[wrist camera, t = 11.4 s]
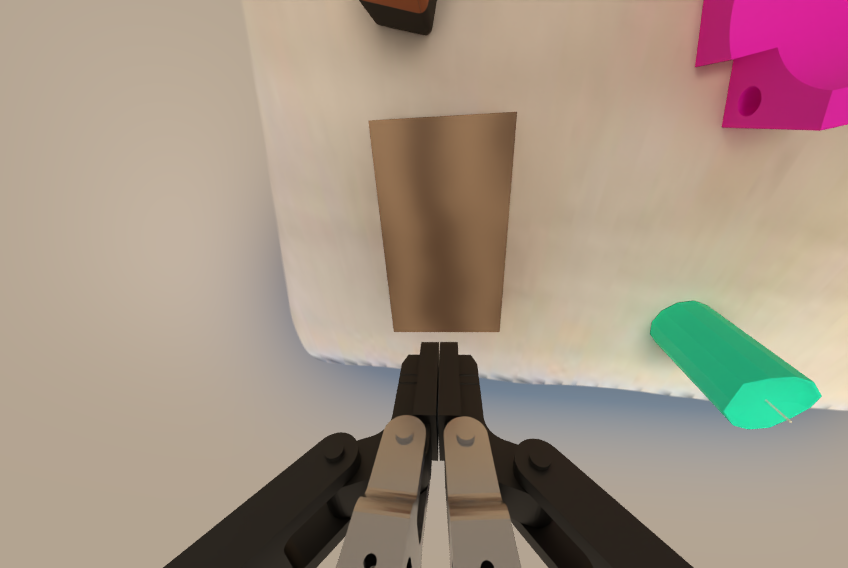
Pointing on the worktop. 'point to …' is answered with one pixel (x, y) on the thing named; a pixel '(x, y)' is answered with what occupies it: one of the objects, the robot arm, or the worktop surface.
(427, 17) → the battery
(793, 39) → the magenta bracket
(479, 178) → the walnut plinth
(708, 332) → the candle
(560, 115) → the worktop surface
